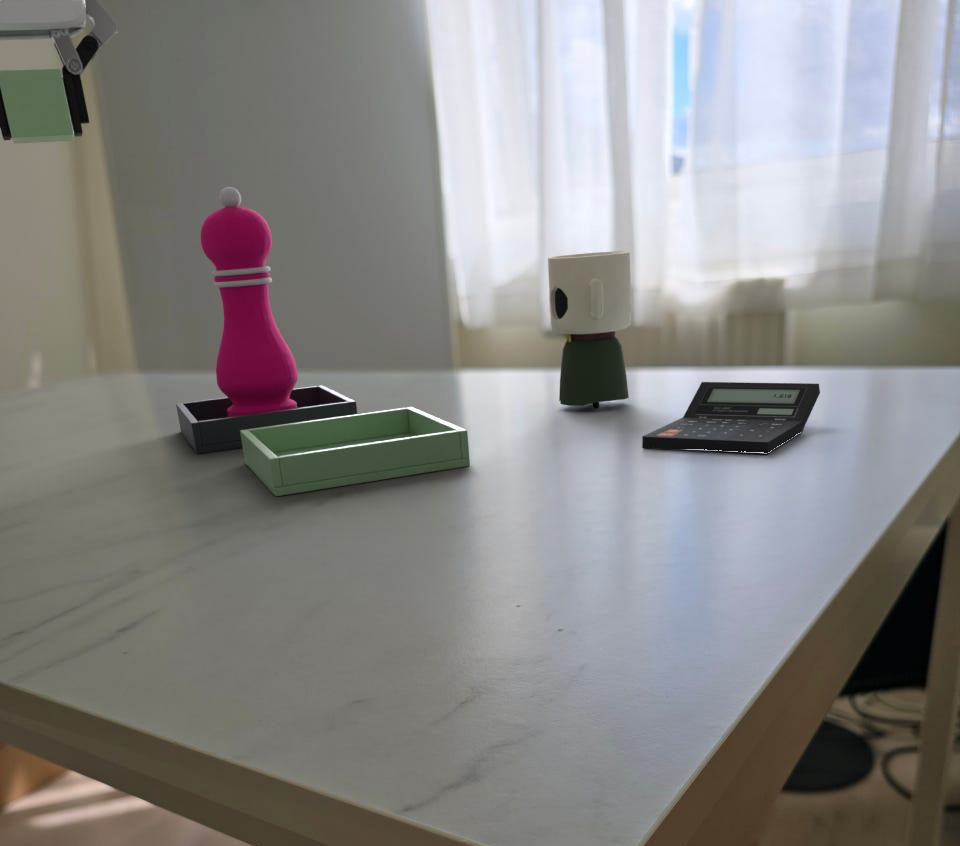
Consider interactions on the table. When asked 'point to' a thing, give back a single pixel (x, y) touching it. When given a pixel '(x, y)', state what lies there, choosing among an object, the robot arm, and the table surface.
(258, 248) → the pepper mill
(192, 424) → the dark tray
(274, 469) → the sage tray
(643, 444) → the calculator
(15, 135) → the sage block
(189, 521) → the table surface
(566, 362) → the character mug
